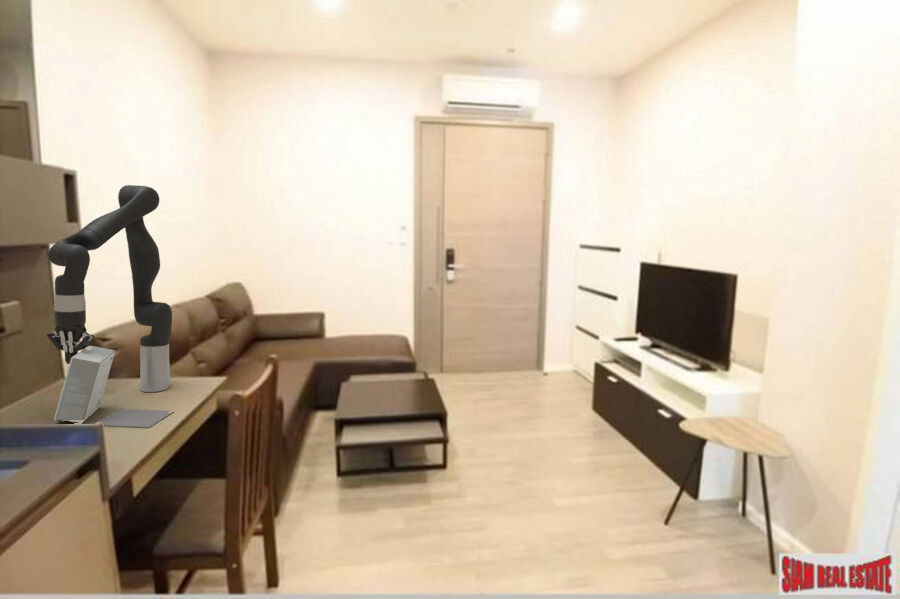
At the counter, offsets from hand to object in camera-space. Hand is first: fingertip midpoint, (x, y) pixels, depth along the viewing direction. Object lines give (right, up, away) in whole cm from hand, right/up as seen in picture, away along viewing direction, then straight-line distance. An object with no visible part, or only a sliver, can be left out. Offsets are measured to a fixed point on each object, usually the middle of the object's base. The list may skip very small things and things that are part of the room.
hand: (71, 363), depth 146 cm
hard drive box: (+1, -16, +1) cm, 16 cm away
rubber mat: (+19, -18, +2) cm, 26 cm away
